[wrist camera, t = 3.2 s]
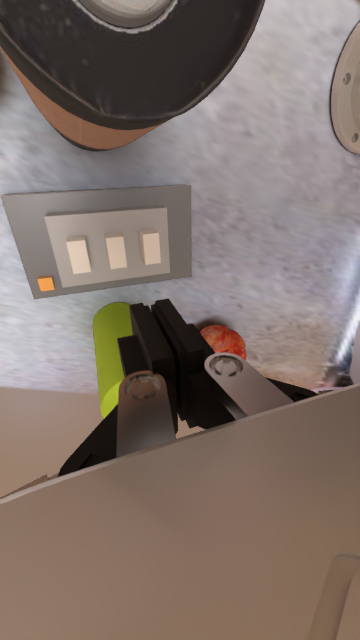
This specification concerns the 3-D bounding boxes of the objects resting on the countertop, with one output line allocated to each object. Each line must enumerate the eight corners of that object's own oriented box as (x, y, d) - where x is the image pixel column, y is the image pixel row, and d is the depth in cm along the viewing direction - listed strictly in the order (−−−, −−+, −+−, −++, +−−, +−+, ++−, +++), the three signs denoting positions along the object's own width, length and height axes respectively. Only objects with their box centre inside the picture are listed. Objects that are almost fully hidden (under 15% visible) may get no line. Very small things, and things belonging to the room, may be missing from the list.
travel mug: (72, 2, 19) (41, -1052, 3) (153, 100, 23) (342, -68, 7) (14, 98, 21) (-251, -197, 4) (101, 175, 25) (149, 189, 8)
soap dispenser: (154, 336, 35) (225, 490, 18) (100, 351, 33) (122, 534, 16) (146, 294, 32) (223, 434, 15) (86, 309, 30) (97, 482, 13)
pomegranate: (230, 321, 40) (220, 305, 31) (259, 363, 38) (258, 360, 29) (188, 348, 41) (167, 341, 32) (214, 391, 39) (200, 397, 30)
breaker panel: (183, 184, 27) (206, 188, 22) (185, 270, 32) (204, 288, 27) (6, 194, 23) (-13, 200, 18) (36, 291, 27) (28, 317, 23)
